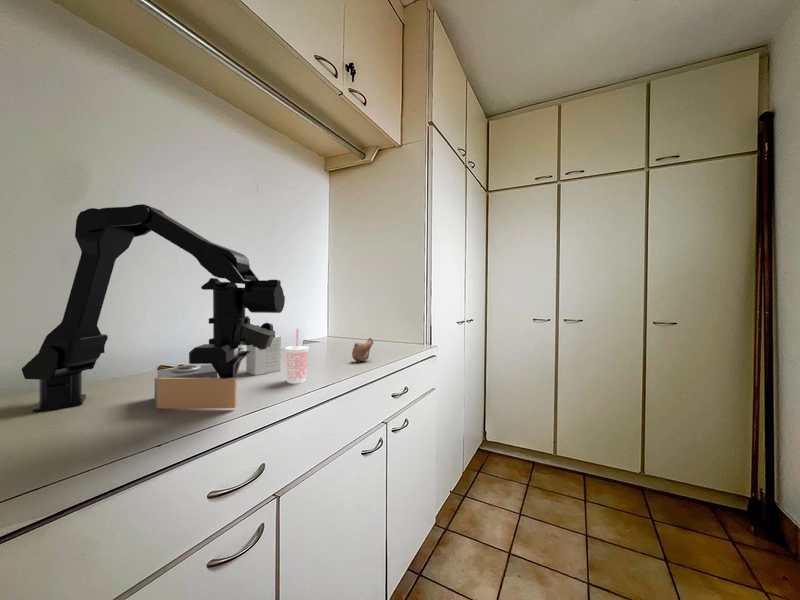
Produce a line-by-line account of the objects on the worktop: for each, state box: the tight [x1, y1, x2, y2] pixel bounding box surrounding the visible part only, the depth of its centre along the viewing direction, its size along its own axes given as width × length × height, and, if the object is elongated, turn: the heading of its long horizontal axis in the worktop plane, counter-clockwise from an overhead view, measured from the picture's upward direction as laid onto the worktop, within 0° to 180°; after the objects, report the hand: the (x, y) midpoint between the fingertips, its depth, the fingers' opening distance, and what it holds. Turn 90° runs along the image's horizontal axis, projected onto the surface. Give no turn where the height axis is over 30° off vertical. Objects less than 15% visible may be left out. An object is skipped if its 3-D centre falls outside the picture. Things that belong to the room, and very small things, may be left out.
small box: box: [245, 334, 282, 376], centre depth 90 cm, size 8×6×10 cm
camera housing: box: [157, 364, 218, 378], centre depth 67 cm, size 8×10×7 cm
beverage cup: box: [284, 328, 310, 385], centre depth 81 cm, size 6×6×14 cm
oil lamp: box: [351, 337, 374, 363], centre depth 107 cm, size 9×4×8 cm, turn 135°
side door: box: [153, 377, 238, 409], centre depth 60 cm, size 1×15×6 cm, turn 94°
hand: (229, 388), depth 63 cm, fingers closed
